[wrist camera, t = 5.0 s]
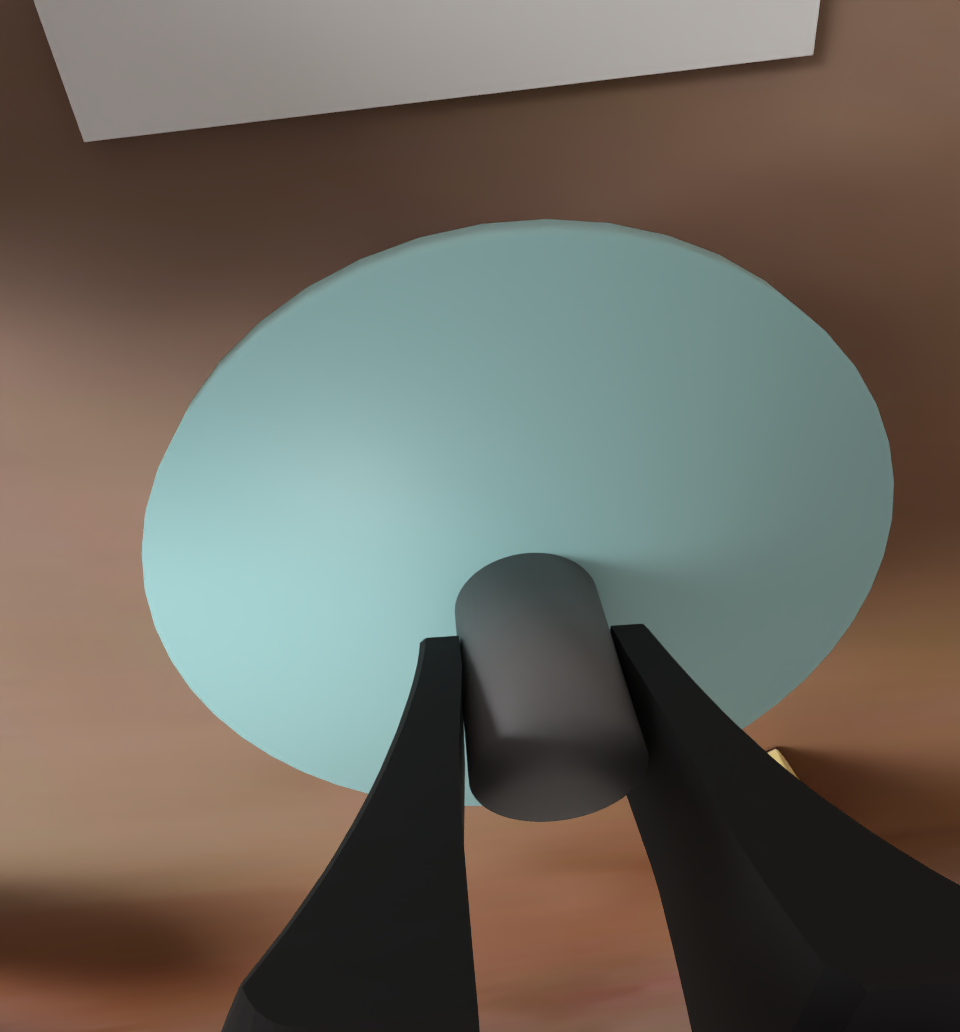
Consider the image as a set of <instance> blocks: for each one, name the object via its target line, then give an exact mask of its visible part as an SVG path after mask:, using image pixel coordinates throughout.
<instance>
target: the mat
mask: <svg viewBox="0 0 960 1032" xmlns="http://www.w3.org/2000/svg"><path fill="white" fill-rule="evenodd" d="M33 1H34V3H35V6H36V9H37V12H38V15H39V17H40V20H41V23H42V26H43V29H44V31H45V34H46V37H47V40H48V43H49V45H50V48H51V51H52V54H53V57H54V59H55V62H56V65H57V68H58V71H59V73H60V76H61V79H62V82H63V84H64V87H65V90H66V93H67V96H68V98H69V101H70V104H71V107H72V110H73V112H74V115H75V118H76V121H77V124H78V126H79V129H80V132H81V135H82V138H83V140H84V142H90V141H98V140H107V139H115V138H123V137H132V136H140V135H148V134H157V133H165V132H173V131H182V130H190V129H199V128H207V127H215V126H224V125H232V124H240V123H249V122H257V121H265V120H274V119H282V118H290V117H299V116H307V115H316V114H324V113H332V112H341V111H349V110H357V109H366V108H374V107H382V106H391V105H399V104H407V103H416V102H424V101H433V100H441V99H449V98H458V97H466V96H474V95H483V94H491V93H499V92H508V91H516V90H524V89H533V88H541V87H550V86H558V85H566V84H575V83H583V82H591V81H600V80H608V79H616V78H625V77H633V76H641V75H650V74H658V73H667V72H675V71H683V70H692V69H700V68H708V67H717V66H725V65H733V64H742V63H750V62H758V61H767V60H775V59H784V58H792V57H800V56H809V55H813V51H814V44H815V36H816V28H817V21H818V13H819V5H820V0H33Z"/></svg>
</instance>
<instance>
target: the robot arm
mask: <svg viewBox="0 0 960 1032" xmlns="http://www.w3.org/2000/svg"><path fill="white" fill-rule="evenodd" d="M610 633H611V636H612V639H613V642H614V645H615V649H616V652H617V655H618V658H619V661H620V664H621V668H622V671H623V674H624V677H625V680H626V684H627V687H628V690H629V693H630V696H631V700H632V703H633V706H634V709H635V712H636V715H637V719H638V722H639V725H640V728H641V731H642V735H643V738H644V741H645V744H646V747H647V751H648V756H649V761H648V767H647V770H646V772H645V774H644V776H643V778H642V779H641V781H640V782H639V783H638V785H637V786H636V787H635V788H634V789H633V790H632V791H631V792H630V793H628V794H627V798H628V800H629V803H630V806H631V809H632V812H633V815H634V818H635V820H636V823H637V826H638V829H639V832H640V835H641V838H642V841H643V843H644V846H645V849H646V852H647V855H648V858H649V861H650V863H651V866H652V870H653V873H654V876H655V879H656V883H657V886H658V889H659V893H660V897H661V901H662V905H663V909H664V913H665V917H666V921H667V925H668V929H669V933H670V937H671V941H672V945H673V950H674V954H675V958H676V963H677V967H678V971H679V976H680V980H681V984H682V989H683V993H684V997H685V1002H686V1006H687V1011H688V1015H689V1020H690V1025H691V1029H692V1032H960V885H958V884H956V883H955V882H953V881H951V880H949V879H947V878H946V877H944V876H942V875H940V874H938V873H936V872H935V871H933V870H931V869H930V868H928V867H926V866H925V865H923V864H921V863H920V862H918V861H917V860H915V859H913V858H912V857H910V856H908V855H907V854H905V853H904V852H902V851H900V850H899V849H897V848H895V847H894V846H892V845H891V844H889V843H887V842H886V841H884V840H883V839H881V838H880V837H878V836H877V835H875V834H874V833H872V832H871V831H869V830H868V829H866V828H865V827H863V826H862V825H861V824H859V823H858V822H856V821H855V820H853V819H852V818H851V817H849V816H848V815H846V814H845V813H843V812H842V811H841V810H839V809H838V808H836V807H835V806H833V805H832V804H831V803H829V802H828V801H826V800H825V799H824V798H822V797H821V796H820V795H818V794H817V793H816V792H814V791H813V790H812V789H810V788H809V787H808V786H806V785H805V784H804V783H803V782H802V781H800V780H799V779H798V778H797V777H795V776H794V775H793V774H792V773H790V772H789V771H788V770H787V769H785V768H784V767H783V766H782V765H781V764H779V763H778V762H777V761H776V760H775V759H774V758H773V757H771V756H770V755H769V754H768V753H767V752H766V751H765V750H763V749H762V748H761V747H760V746H759V745H758V744H757V743H756V742H755V741H754V740H753V739H751V738H750V737H749V736H748V735H747V734H746V733H745V732H744V731H743V730H742V729H741V728H740V727H739V726H738V725H737V724H736V723H735V722H734V721H732V720H731V719H730V718H729V717H728V716H727V715H726V714H725V713H724V712H723V711H722V710H721V709H720V708H719V706H718V705H717V704H716V703H715V702H714V701H713V700H712V699H711V698H710V697H709V696H708V695H707V694H706V693H705V692H704V691H703V690H702V689H701V688H700V687H699V686H698V685H697V684H696V682H695V681H694V680H693V679H692V678H691V677H690V676H689V675H688V674H687V673H686V671H685V670H684V669H683V668H682V667H681V666H680V665H679V664H678V663H677V661H676V660H675V659H674V658H673V657H672V656H671V655H670V653H669V652H668V651H667V650H666V649H665V648H664V646H663V645H662V644H661V643H660V642H659V641H658V639H657V638H656V637H655V636H654V635H653V634H652V632H651V631H650V630H649V629H648V628H647V627H646V626H645V625H644V624H629V625H614V626H611V627H610ZM464 804H465V744H464V718H463V680H462V660H461V651H460V642H459V636H446V637H431V638H425V639H424V640H423V641H421V642H420V646H419V656H418V662H417V667H416V671H415V675H414V679H413V683H412V686H411V690H410V693H409V697H408V700H407V702H406V705H405V708H404V711H403V714H402V717H401V720H400V723H399V726H398V728H397V731H396V733H395V736H394V738H393V741H392V743H391V745H390V748H389V750H388V752H387V755H386V757H385V759H384V762H383V764H382V766H381V769H380V771H379V773H378V775H377V777H376V779H375V782H374V784H373V786H372V788H371V790H370V792H369V794H368V796H367V798H366V800H365V802H364V803H363V805H362V807H361V809H360V811H359V813H358V815H357V817H356V819H355V820H354V822H353V824H352V826H351V827H350V829H349V831H348V832H347V834H346V836H345V838H344V839H343V841H342V843H341V844H340V846H339V848H338V850H337V851H336V853H335V855H334V856H333V858H332V859H331V861H330V863H329V864H328V866H327V867H326V869H325V871H324V872H323V874H322V875H321V877H320V878H319V879H318V881H317V882H316V884H315V885H314V887H313V888H312V890H311V891H310V893H309V894H308V895H307V897H306V898H305V900H304V901H303V903H302V904H301V906H300V907H299V909H298V910H297V912H296V913H295V914H294V916H293V917H292V919H291V920H290V921H289V923H288V924H287V926H286V927H285V928H284V930H283V931H282V932H281V934H280V935H279V936H278V937H277V939H276V940H275V941H274V942H273V944H272V945H271V946H270V948H269V949H268V950H267V951H266V953H265V954H264V955H263V956H262V958H261V959H260V960H259V962H258V963H257V964H256V965H255V967H254V968H253V969H252V970H251V972H250V973H249V974H248V976H247V977H246V978H245V979H244V981H243V982H242V983H241V985H240V987H239V989H238V991H237V994H236V996H235V998H234V1001H233V1003H232V1006H231V1008H230V1010H229V1013H228V1015H227V1018H226V1020H225V1023H224V1026H223V1028H222V1031H221V1032H480V1031H479V1018H478V1005H477V994H476V983H475V972H474V960H473V949H472V938H471V926H470V914H469V902H468V891H467V879H466V867H465V854H464Z"/></svg>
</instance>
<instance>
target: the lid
mask: <svg viewBox="0 0 960 1032" xmlns="http://www.w3.org/2000/svg"><path fill="white" fill-rule="evenodd" d="M893 493H894V477H893V469H892V461H891V453H890V445H889V441H888V438H887V435H886V432H885V429H884V426H883V422H882V419H881V416H880V413H879V410H878V407H877V404H876V402H875V401H874V399H873V397H872V395H871V393H870V392H869V390H868V388H867V386H866V385H865V383H864V381H863V379H862V377H861V376H860V374H859V372H858V370H857V368H856V367H855V366H854V364H853V363H852V362H851V361H850V360H849V358H848V357H847V356H846V355H845V354H844V352H843V351H842V350H841V349H840V348H839V347H838V345H837V344H836V343H835V342H834V341H833V339H832V338H831V337H830V336H829V335H828V333H827V332H826V331H825V330H824V329H822V328H821V327H820V326H819V325H818V324H817V323H815V322H814V321H813V320H812V319H811V318H810V317H808V316H807V315H806V314H805V313H804V312H803V311H801V310H800V309H799V308H798V307H796V306H795V305H794V304H793V303H792V302H790V301H789V300H788V299H787V298H786V297H784V296H783V295H782V294H781V293H779V292H778V291H777V290H776V289H775V288H773V287H772V286H771V285H770V284H768V283H767V282H766V281H765V280H763V279H761V278H760V277H758V276H756V275H754V274H753V273H751V272H749V271H747V270H745V269H744V268H742V267H740V266H738V265H737V264H735V263H733V262H731V261H730V260H728V259H726V258H724V257H723V256H721V255H719V254H716V253H714V252H711V251H708V250H706V249H703V248H700V247H698V246H695V245H692V244H690V243H687V242H684V241H681V240H679V239H676V238H673V237H671V236H668V235H665V234H660V233H655V232H650V231H645V230H640V229H636V228H631V227H626V226H621V225H616V224H612V223H604V222H588V221H572V220H555V219H539V220H526V221H513V222H500V223H487V224H479V225H475V226H470V227H465V228H461V229H456V230H452V231H447V232H442V233H438V234H433V235H428V236H424V237H419V238H417V239H414V240H411V241H408V242H406V243H403V244H400V245H397V246H395V247H392V248H389V249H386V250H384V251H381V252H378V253H375V254H373V255H370V256H367V257H364V258H362V259H359V260H358V261H356V262H354V263H352V264H350V265H348V266H346V267H344V268H342V269H341V270H339V271H337V272H335V273H333V274H331V275H329V276H327V277H325V278H324V279H322V280H320V281H318V282H316V283H314V284H312V285H310V286H308V287H307V288H305V289H304V290H303V291H301V292H300V293H298V294H297V295H296V296H294V297H293V298H292V299H290V300H289V301H287V302H286V303H285V304H283V305H282V306H281V307H279V308H278V309H276V310H275V311H274V312H272V313H271V314H270V315H268V316H267V317H265V318H264V319H263V320H261V321H260V322H259V323H258V324H257V325H256V326H255V327H254V328H253V329H252V330H251V331H250V332H249V333H248V334H247V335H246V336H245V337H244V338H243V339H242V340H241V341H240V342H239V343H238V344H237V345H236V346H235V347H234V348H233V349H232V350H231V351H230V352H229V353H228V354H227V355H226V356H225V357H224V358H223V359H222V360H221V361H220V362H219V364H218V365H217V367H216V368H215V369H214V371H213V372H212V373H211V375H210V376H209V377H208V379H207V380H206V382H205V383H204V384H203V386H202V387H201V388H200V390H199V391H198V392H197V394H196V395H195V397H194V398H193V399H192V401H191V403H190V405H189V407H188V409H187V411H186V413H185V415H184V417H183V419H182V421H181V423H180V425H179V427H178V429H177V431H176V433H175V435H174V437H173V439H172V441H171V443H170V445H169V447H168V449H167V451H166V453H165V455H164V457H163V459H162V461H161V463H160V466H159V468H158V470H157V474H156V477H155V481H154V484H153V487H152V491H151V494H150V498H149V501H148V505H147V508H146V512H145V522H144V532H143V542H142V563H143V574H144V585H145V593H146V596H147V600H148V603H149V607H150V611H151V614H152V618H153V622H154V625H155V628H156V630H157V632H158V634H159V636H160V638H161V641H162V643H163V645H164V647H165V649H166V651H167V653H168V655H169V657H170V659H171V661H172V662H173V664H174V665H175V667H176V668H177V670H178V671H179V673H180V674H181V675H182V677H183V678H184V680H185V681H186V683H187V684H188V686H189V687H190V689H191V690H192V691H193V692H194V693H195V694H196V695H197V696H198V697H199V698H200V699H201V700H202V701H203V703H204V704H205V705H206V706H207V707H208V708H209V709H210V710H211V711H212V712H213V713H214V714H215V715H216V716H217V717H218V718H219V719H221V720H222V721H223V722H224V723H225V724H227V725H228V726H229V727H230V728H232V729H233V730H234V731H235V732H236V733H238V734H239V735H240V736H241V737H243V738H244V739H246V740H247V741H249V742H250V743H252V744H253V745H255V746H257V747H258V748H260V749H261V750H263V751H264V752H266V753H267V754H269V755H271V756H272V757H274V758H276V759H278V760H280V761H282V762H284V763H286V764H288V765H290V766H292V767H294V768H296V769H298V770H300V771H302V772H305V773H307V774H310V775H313V776H315V777H318V778H320V779H323V780H326V781H328V782H331V783H333V784H336V785H340V786H343V787H347V788H350V789H354V790H357V791H361V792H365V793H368V794H369V792H370V790H371V788H372V786H373V784H374V782H375V779H376V777H377V775H378V773H379V771H380V769H381V766H382V764H383V762H384V759H385V757H386V755H387V752H388V750H389V748H390V745H391V743H392V741H393V738H394V736H395V733H396V731H397V728H398V726H399V723H400V720H401V717H402V714H403V711H404V708H405V705H406V702H407V700H408V697H409V693H410V690H411V686H412V683H413V679H414V675H415V671H416V667H417V662H418V656H419V646H420V642H421V641H423V640H424V639H425V638H431V637H446V636H459V642H460V651H461V660H462V680H463V718H464V744H465V804H464V806H484V807H485V808H487V809H488V810H490V811H492V812H494V813H496V814H499V815H501V816H504V817H508V818H511V819H517V820H523V821H535V822H546V821H559V820H566V819H572V818H576V817H580V816H584V815H587V814H590V813H593V812H596V811H599V810H601V809H603V808H606V807H608V806H610V805H612V804H614V803H615V802H617V801H618V800H620V799H622V798H623V797H624V796H626V795H627V794H628V793H630V792H631V791H632V790H633V789H634V788H635V787H636V786H637V785H638V783H639V782H640V781H641V779H642V778H643V776H644V774H645V772H646V770H647V767H648V761H649V756H648V751H647V747H646V744H645V741H644V738H643V735H642V731H641V728H640V725H639V722H638V719H637V715H636V712H635V709H634V706H633V703H632V700H631V696H630V693H629V690H628V687H627V684H626V680H625V677H624V674H623V671H622V668H621V664H620V661H619V658H618V655H617V652H616V649H615V645H614V642H613V639H612V636H611V633H610V627H611V626H614V625H629V624H644V625H645V626H646V627H647V628H648V629H649V630H650V631H651V632H652V634H653V635H654V636H655V637H656V638H657V639H658V641H659V642H660V643H661V644H662V645H663V646H664V648H665V649H666V650H667V651H668V652H669V653H670V655H671V656H672V657H673V658H674V659H675V660H676V661H677V663H678V664H679V665H680V666H681V667H682V668H683V669H684V670H685V671H686V673H687V674H688V675H689V676H690V677H691V678H692V679H693V680H694V681H695V682H696V684H697V685H698V686H699V687H700V688H701V689H702V690H703V691H704V692H705V693H706V694H707V695H708V696H709V697H710V698H711V699H712V700H713V701H714V702H715V703H716V704H717V705H718V706H719V708H720V709H721V710H722V711H723V712H724V713H725V714H726V715H727V716H728V717H729V718H730V719H731V720H732V721H734V722H735V723H736V724H737V725H738V726H739V727H740V728H741V729H743V728H744V727H746V726H748V725H749V724H751V723H752V722H753V721H755V720H756V719H757V718H759V717H760V716H761V715H763V714H764V713H766V712H767V711H768V710H770V709H771V708H772V707H774V706H775V705H776V704H778V703H779V702H780V701H781V700H782V699H783V698H785V697H786V696H787V695H788V694H789V693H790V692H791V691H792V690H794V689H795V688H796V687H797V686H798V685H799V684H800V683H801V682H803V681H804V680H805V679H806V678H807V677H808V676H809V675H810V674H811V672H812V671H813V670H814V669H815V668H816V667H817V666H818V665H819V664H820V663H821V662H822V660H823V659H824V658H825V657H826V656H827V655H828V654H829V653H830V652H831V650H832V649H833V648H834V646H835V645H836V644H837V642H838V641H839V640H840V638H841V637H842V635H843V634H844V633H845V631H846V630H847V629H848V627H849V626H850V625H851V623H852V622H853V620H854V618H855V616H856V615H857V613H858V611H859V609H860V608H861V606H862V604H863V602H864V600H865V599H866V597H867V595H868V593H869V591H870V589H871V587H872V584H873V582H874V579H875V577H876V574H877V572H878V569H879V567H880V564H881V562H882V559H883V556H884V552H885V548H886V544H887V539H888V535H889V530H890V526H891V522H892V510H893Z"/></svg>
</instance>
